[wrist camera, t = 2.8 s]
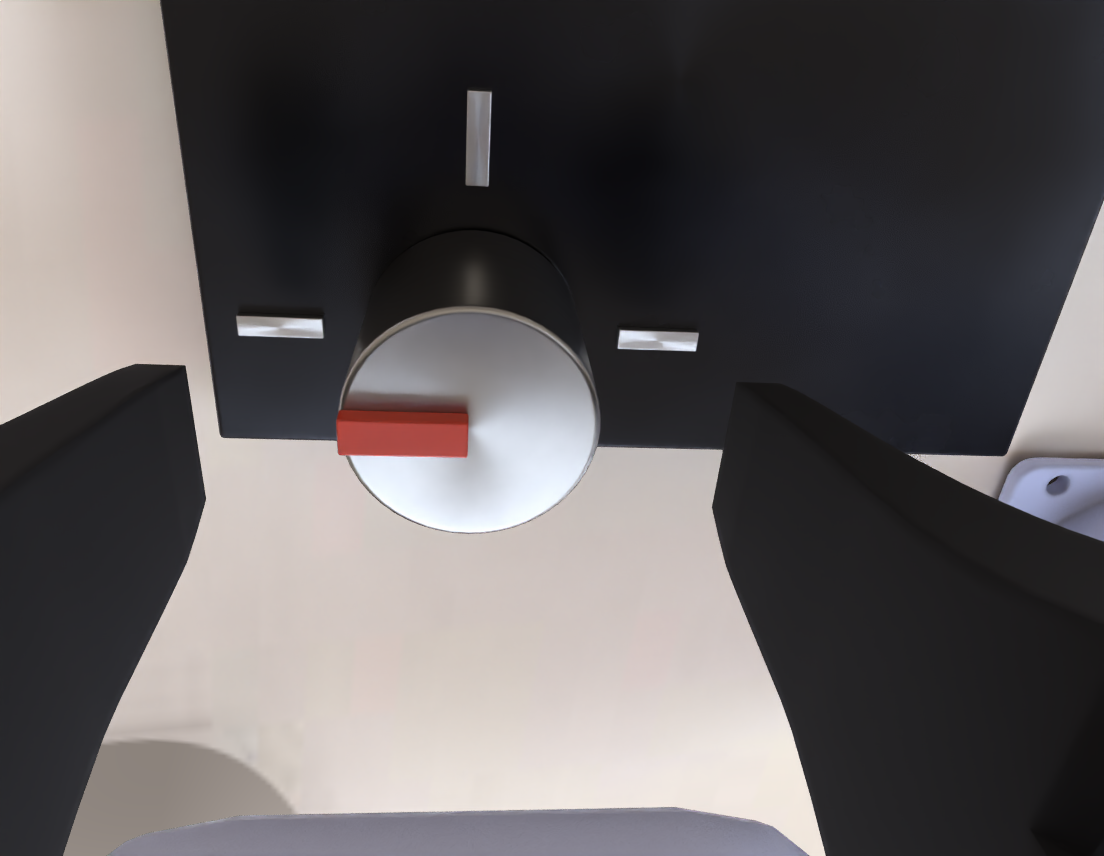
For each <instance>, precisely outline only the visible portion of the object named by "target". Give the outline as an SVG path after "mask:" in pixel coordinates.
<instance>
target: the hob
mask: <svg viewBox="0 0 1104 856" xmlns="http://www.w3.org/2000/svg"><path fill="white" fill-rule="evenodd" d="M160 5H161V12H162V19H163V27H164V34H165V41H166V48H167V56H168V63H169V70H170V77H171V85H172V92H173V99H174V106H175V114H176V121H177V128H178V135H179V143H180V150H181V157H182V164H183V171H184V179H185V186H186V193H187V200H188V208H189V215H190V222H191V229H192V237H193V244H194V251H195V258H196V266H197V273H198V280H199V287H200V295H201V302H202V309H203V316H204V324H205V331H206V338H207V345H208V353H209V360H210V367H211V374H212V382H213V389H214V396H215V403H216V411H217V418H218V425H219V432H220V435H221V437H223V438H250V439H293V440H335V441H337V430H336V419H337V416H338V407H339V402H340V396H341V391H342V388H343V385H344V382H345V378H346V375H347V372H348V369H349V365H350V362H351V359H352V356H353V353H354V349H355V346H356V343H357V340H358V336H359V333H360V330H361V327H362V324H363V320H364V317H365V314H366V311H367V307H368V304H369V301H370V298H371V295H372V292H373V290H374V288H375V286H376V284H377V282H378V280H379V279H380V277H381V276H382V274H383V273H384V272H385V270H386V269H387V268H388V267H389V265H390V264H391V263H392V262H393V261H394V260H395V259H396V258H397V257H399V256H400V255H401V254H402V253H403V252H405V251H406V250H407V249H409V248H411V247H412V246H414V245H416V244H417V243H419V242H421V241H423V240H426V239H428V238H430V237H433V236H436V235H440V234H444V233H448V232H454V231H462V230H478V231H487V232H493V233H497V234H501V235H505V236H508V237H510V238H513V239H516V240H518V241H520V242H522V243H524V244H526V245H528V246H529V247H531V248H533V249H534V250H535V251H537V252H538V253H539V254H541V255H542V256H543V257H544V258H546V259H547V260H548V261H549V262H550V263H551V264H552V265H553V266H554V268H555V269H556V270H557V271H558V273H559V274H560V275H561V276H562V278H563V280H564V281H565V283H566V285H567V286H568V288H569V290H570V293H571V295H572V297H573V300H574V304H575V307H576V311H577V315H578V319H579V323H580V327H581V331H582V335H583V339H584V343H585V347H586V350H587V354H588V358H589V362H590V366H591V370H592V374H593V378H594V382H595V386H596V390H597V394H598V398H599V404H600V412H601V424H600V434H599V440H598V445H597V447H632V448H674V449H717V450H723V448H724V443H725V438H726V433H727V428H728V423H729V417H730V412H731V407H732V402H733V397H734V392H735V387H736V382H751V383H780V384H783V385H786V386H788V387H790V388H793V389H795V390H797V391H799V392H801V393H803V394H804V395H806V396H808V397H810V398H812V399H813V400H815V401H817V402H819V403H820V404H822V405H824V406H826V407H827V408H829V409H831V410H832V411H834V412H836V413H837V414H839V415H841V416H842V417H844V418H846V419H847V420H849V421H851V422H852V423H854V424H856V425H857V426H859V427H861V428H862V429H864V430H866V431H868V432H869V433H871V434H873V435H874V436H876V437H878V438H879V439H881V440H883V441H885V442H886V443H888V444H890V445H891V446H893V447H895V448H897V449H898V450H900V451H902V452H904V453H906V454H929V455H971V456H1005V455H1006V454H1007V452H1008V449H1009V446H1010V444H1011V441H1012V439H1013V436H1014V433H1015V431H1016V428H1017V425H1018V423H1019V420H1020V418H1021V415H1022V412H1023V410H1024V407H1025V405H1026V402H1027V399H1028V397H1029V394H1030V391H1031V389H1032V386H1033V384H1034V381H1035V378H1036V376H1037V373H1038V371H1039V368H1040V365H1041V363H1042V360H1043V358H1044V355H1045V352H1046V350H1047V347H1048V344H1049V342H1050V339H1051V337H1052V334H1053V331H1054V329H1055V326H1056V324H1057V321H1058V318H1059V316H1060V313H1061V310H1062V308H1063V305H1064V303H1065V300H1066V297H1067V295H1068V292H1069V290H1070V287H1071V284H1072V282H1073V279H1074V276H1075V274H1076V271H1077V269H1078V266H1079V263H1080V261H1081V258H1082V256H1083V253H1084V250H1085V248H1086V245H1087V243H1088V240H1089V237H1090V235H1091V232H1092V229H1093V227H1094V224H1095V222H1096V219H1097V216H1098V214H1099V211H1100V209H1101V206H1102V203H1103V201H1104V0H160Z"/></svg>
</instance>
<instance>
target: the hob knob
mask: <svg viewBox="0 0 1104 856" xmlns="http://www.w3.org/2000/svg"><path fill="white" fill-rule="evenodd" d="M600 424H601V412H600V404H599V398H598V394H597V390H596V386H595V382H594V378H593V374H592V370H591V366H590V362H589V358H588V354H587V350H586V347H585V343H584V339H583V335H582V331H581V327H580V323H579V319H578V315H577V311H576V307H575V304H574V300H573V297H572V295H571V293H570V290H569V288H568V286H567V285H566V283H565V281H564V280H563V278H562V276H561V275H560V274H559V273H558V271H557V270H556V269H555V268H554V266H553V265H552V264H551V263H550V262H549V261H548V260H547V259H546V258H544V257H543V256H542V255H541V254H539V253H538V252H537V251H535V250H534V249H533V248H531V247H529V246H528V245H526V244H524V243H522V242H520V241H518V240H516V239H513V238H510V237H508V236H505V235H501V234H497V233H493V232H487V231H478V230H462V231H454V232H448V233H444V234H440V235H436V236H433V237H430V238H428V239H426V240H423V241H421V242H419V243H417V244H416V245H414V246H412V247H411V248H409V249H407V250H406V251H405V252H403V253H402V254H401V255H400V256H399V257H397V258H396V259H395V260H394V261H393V262H392V263H391V264H390V265H389V267H388V268H387V269H386V270H385V272H384V273H383V274H382V276H381V277H380V279H379V280H378V282H377V284H376V286H375V288H374V290H373V292H372V295H371V298H370V301H369V304H368V307H367V311H366V314H365V317H364V320H363V324H362V327H361V330H360V333H359V336H358V340H357V343H356V346H355V349H354V353H353V356H352V359H351V362H350V365H349V369H348V372H347V375H346V378H345V382H344V385H343V388H342V391H341V396H340V402H339V407H338V416H337V419H336V430H337V446H338V454H339V455H346V457H347V460H348V462H349V464H350V466H351V468H352V469H353V471H354V473H355V474H356V476H357V477H358V479H359V480H360V482H361V483H362V484H363V485H364V487H365V488H366V489H367V490H368V491H369V492H370V493H371V494H372V495H373V496H374V497H375V498H376V499H377V500H378V501H379V502H380V503H382V504H383V505H384V506H386V507H387V508H389V509H390V510H391V511H393V512H394V513H396V514H398V515H400V516H402V517H403V518H405V519H407V520H409V521H412V522H414V523H417V524H419V525H422V526H425V527H428V528H432V529H435V530H440V531H446V532H452V533H465V534H474V533H488V532H495V531H501V530H505V529H509V528H513V527H516V526H519V525H521V524H524V523H526V522H529V521H531V520H533V519H535V518H537V517H539V516H541V515H543V514H544V513H546V512H547V511H549V510H550V509H552V508H553V507H555V506H556V505H557V504H558V503H560V502H561V501H562V500H563V499H564V498H565V497H567V495H568V494H569V493H570V492H571V491H572V490H573V489H574V488H575V487H576V486H577V484H578V483H579V481H580V480H581V478H582V477H583V475H584V474H585V473H586V471H587V469H588V467H589V465H590V463H591V461H592V459H593V456H594V454H595V451H596V448H597V445H598V440H599V434H600Z"/></svg>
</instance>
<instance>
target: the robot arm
mask: <svg viewBox="0 0 1104 856" xmlns="http://www.w3.org/2000/svg"><path fill="white" fill-rule="evenodd" d="M1056 476H1059V477H1058V478H1057V480H1056V481H1055V482H1053V483H1052V484H1050V485H1047V484H1048V483H1049V482H1050V480H1052V479H1053V478H1055V477H1056ZM205 501H206V496H205V490H204V483H203V477H202V470H201V464H200V457H199V451H198V444H197V438H196V431H195V425H194V418H193V412H192V405H191V399H190V392H189V386H188V379H187V373H186V366H185V365H151V364H134V365H131V366H128V367H125V368H122V369H119V370H116V371H114V372H112V373H109V374H107V375H105V376H102V377H100V378H98V379H96V380H94V381H91V382H89V383H87V384H85V385H83V386H81V387H79V388H77V389H75V390H73V391H70V392H68V393H66V394H64V395H62V396H60V397H58V398H56V399H54V400H52V401H50V402H48V403H46V404H44V405H41V406H39V407H37V408H35V409H33V410H31V411H29V412H27V413H25V414H23V415H21V416H19V417H17V418H15V419H12V420H10V421H8V422H6V423H4V424H2V425H0V856H63V853H64V850H65V847H66V844H67V841H68V838H69V835H70V832H71V828H72V826H73V823H74V820H75V816H76V814H77V810H78V808H79V805H80V802H81V799H82V797H83V794H84V791H85V788H86V785H87V782H88V780H89V777H90V774H91V771H92V768H93V765H94V763H95V760H96V757H97V754H98V751H99V749H100V746H101V743H102V740H103V738H104V735H105V733H106V731H107V728H108V726H109V724H110V721H111V719H112V717H113V714H114V712H115V710H116V707H117V705H118V703H119V701H120V699H121V697H122V695H123V693H124V691H125V689H126V687H127V685H128V683H129V681H130V679H131V676H132V674H133V672H134V670H135V668H136V666H137V664H138V662H139V660H140V658H141V656H142V654H143V652H144V650H145V648H146V646H147V644H148V642H149V640H150V638H151V636H152V634H153V632H154V630H155V628H156V626H157V624H158V622H159V620H160V618H161V616H162V614H163V612H164V609H165V607H166V605H167V603H168V601H169V599H170V597H171V595H172V593H173V591H174V589H175V587H176V584H177V582H178V580H179V578H180V576H181V574H182V572H183V570H184V567H185V565H186V563H187V560H188V557H189V554H190V551H191V548H192V545H193V542H194V539H195V536H196V533H197V529H198V526H199V522H200V519H201V515H202V512H203V508H204V505H205ZM712 509H713V514H714V518H715V523H716V527H717V532H718V536H719V540H720V544H721V548H722V552H723V556H724V560H725V564H726V567H727V570H728V572H729V575H730V578H731V580H732V583H733V585H734V588H735V590H736V593H737V595H738V598H739V600H740V603H741V605H742V607H743V610H744V612H745V615H746V617H747V620H748V622H749V624H750V627H751V629H752V632H753V634H754V637H755V639H756V641H757V644H758V646H759V649H760V651H761V653H762V656H763V658H764V661H765V663H766V665H767V668H768V670H769V673H770V675H771V677H772V680H773V682H774V685H775V687H776V690H777V692H778V694H779V697H780V699H781V702H782V705H783V708H784V710H785V713H786V716H787V719H788V721H789V724H790V727H791V730H792V733H793V737H794V740H795V744H796V747H797V751H798V754H799V758H800V761H801V765H802V768H803V772H804V775H805V779H806V782H807V786H808V789H809V793H810V796H811V800H812V804H813V808H814V811H815V815H816V819H817V823H818V827H819V831H820V835H821V838H822V842H823V846H824V850H825V854H826V856H1104V459H1081V458H1039V457H1036V458H1029V459H1026V460H1024V461H1021V462H1019V463H1018V464H1017V465H1016V466H1014V467H1013V468H1012V469H1011V471H1010V473H1009V474H1008V476H1007V478H1006V481H1005V483H1004V486H1003V489H1002V491H1001V494H1000V496H999V499H998V500H997V499H994V498H992V497H990V496H988V495H985V494H983V493H981V492H979V491H977V490H975V489H973V488H971V487H968V486H966V485H964V484H962V483H960V482H958V481H956V480H954V479H953V478H951V477H949V476H947V475H945V474H943V473H941V472H939V471H937V470H935V469H933V468H931V467H930V466H928V465H926V464H924V463H922V462H920V461H918V460H916V459H915V458H913V457H911V456H909V455H907V454H906V453H904V452H902V451H900V450H898V449H897V448H895V447H893V446H891V445H890V444H888V443H886V442H885V441H883V440H881V439H879V438H878V437H876V436H874V435H873V434H871V433H869V432H868V431H866V430H864V429H862V428H861V427H859V426H857V425H856V424H854V423H852V422H851V421H849V420H847V419H846V418H844V417H842V416H841V415H839V414H837V413H836V412H834V411H832V410H831V409H829V408H827V407H826V406H824V405H822V404H820V403H819V402H817V401H815V400H813V399H812V398H810V397H808V396H806V395H804V394H803V393H801V392H799V391H797V390H795V389H793V388H790V387H788V386H786V385H783V384H780V383H751V382H736V387H735V392H734V397H733V402H732V407H731V412H730V417H729V423H728V428H727V433H726V438H725V443H724V448H723V453H722V459H721V464H720V469H719V474H718V479H717V484H716V489H715V495H714V500H713V505H712ZM107 856H809V855H808V854H807V853H805V852H804V851H803V850H802V849H800V848H799V847H798V846H797V845H795V844H794V843H793V842H792V841H790V840H789V839H788V838H787V837H785V836H784V835H783V834H782V833H780V832H779V831H778V830H777V829H775V828H774V827H773V826H770V825H767V824H764V823H761V822H758V821H755V820H749V819H743V818H737V817H731V816H725V815H719V814H713V813H707V812H701V811H695V810H689V809H683V808H677V807H661V808H609V809H558V810H506V811H454V812H402V813H351V814H299V815H251V816H250V815H249V816H248V815H247V816H234V817H229V818H224V819H219V820H214V821H209V822H203V823H198V824H193V825H188V826H183V827H177V828H173V829H167V830H162V831H157V832H152V833H147V834H144V835H141V836H139V837H136V838H133V839H131V840H128V841H126V842H124V843H123V844H122V845H121V846H119V847H118V848H116V849H115V850H114V851H113V852H111V853H110V854H108V855H107Z"/></svg>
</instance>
